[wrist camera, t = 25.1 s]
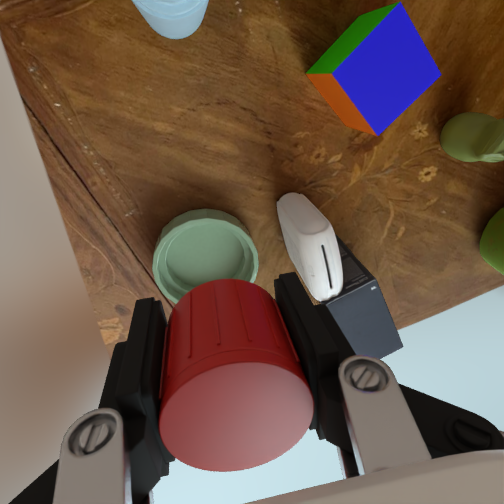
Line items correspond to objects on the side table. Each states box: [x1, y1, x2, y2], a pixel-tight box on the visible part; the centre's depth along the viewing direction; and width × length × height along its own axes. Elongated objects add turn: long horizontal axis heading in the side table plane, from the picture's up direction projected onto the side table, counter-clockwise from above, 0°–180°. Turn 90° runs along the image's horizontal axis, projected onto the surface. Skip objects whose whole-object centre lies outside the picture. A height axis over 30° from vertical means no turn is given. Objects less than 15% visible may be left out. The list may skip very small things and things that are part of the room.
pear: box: [440, 112, 504, 162], centre depth 41 cm, size 6×5×10 cm
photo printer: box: [277, 193, 343, 301], centre depth 42 cm, size 10×4×12 cm, turn 16°
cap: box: [158, 279, 314, 472], centre depth 10 cm, size 4×4×4 cm
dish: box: [152, 208, 259, 304], centre depth 45 cm, size 13×13×4 cm
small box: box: [319, 234, 403, 359], centre depth 47 cm, size 13×7×12 cm, turn 28°
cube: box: [305, 2, 441, 136], centre depth 36 cm, size 8×8×8 cm
